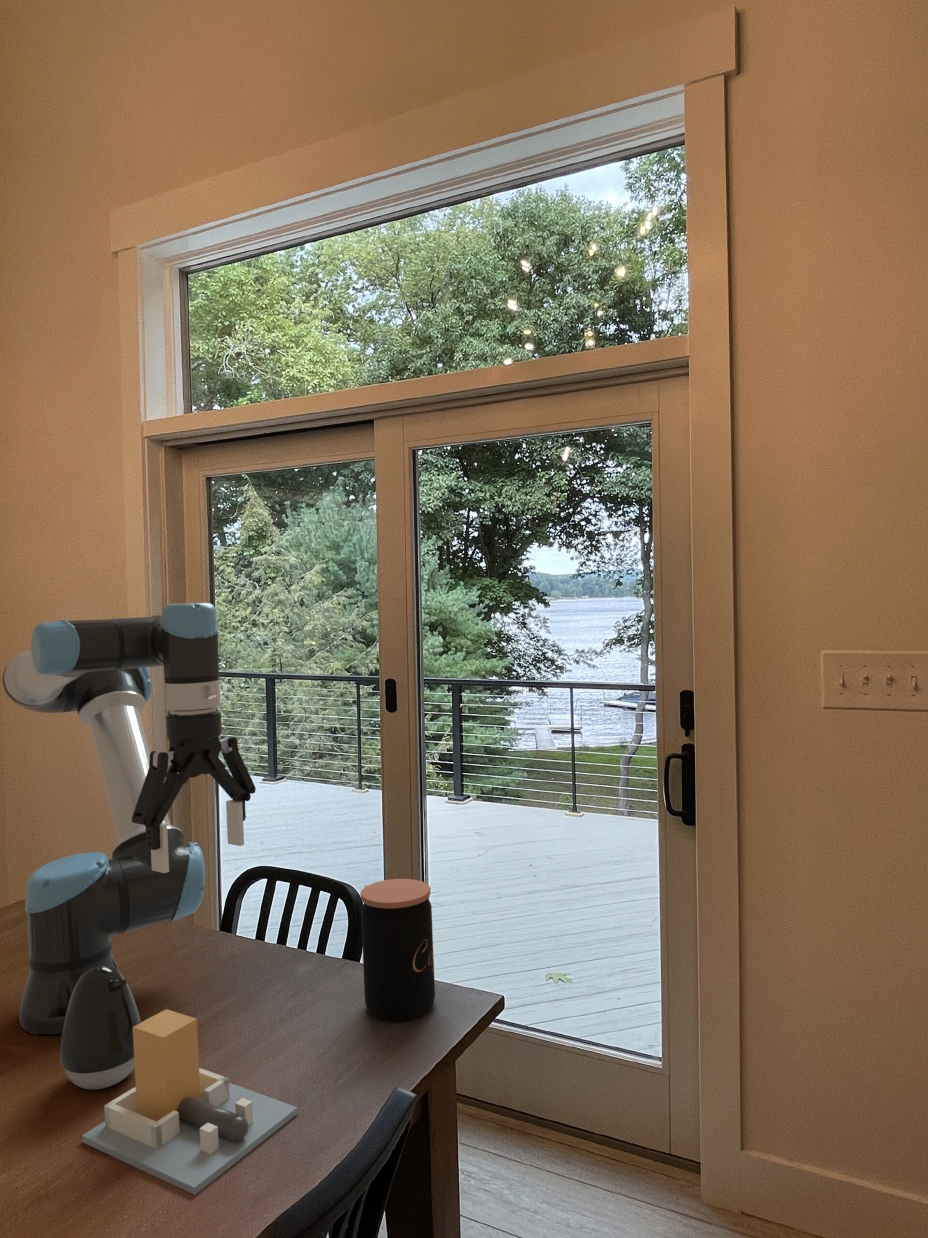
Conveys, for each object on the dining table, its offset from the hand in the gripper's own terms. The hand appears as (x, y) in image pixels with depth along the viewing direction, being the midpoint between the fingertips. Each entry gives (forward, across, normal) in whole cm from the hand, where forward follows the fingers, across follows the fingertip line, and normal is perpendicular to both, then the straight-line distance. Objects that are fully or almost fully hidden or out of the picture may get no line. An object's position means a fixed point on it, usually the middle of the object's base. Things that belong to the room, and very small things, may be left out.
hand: (199, 857), depth 124 cm
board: (+26, -16, -16) cm, 34 cm away
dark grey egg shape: (+26, -15, +3) cm, 30 cm away
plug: (+25, -16, -17) cm, 34 cm away
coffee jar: (+26, +20, -20) cm, 38 cm away
